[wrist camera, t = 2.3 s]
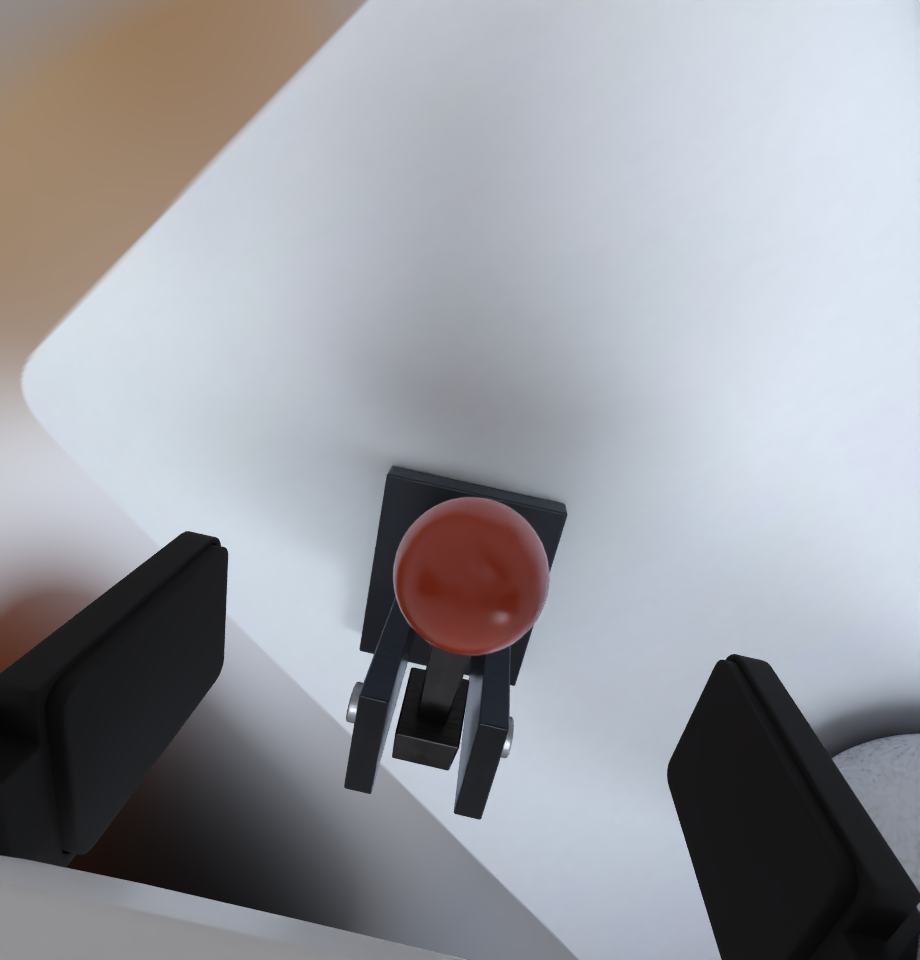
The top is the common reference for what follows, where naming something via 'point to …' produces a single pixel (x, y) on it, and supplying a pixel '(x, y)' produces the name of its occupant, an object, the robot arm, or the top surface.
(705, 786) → the robot arm
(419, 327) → the top surface
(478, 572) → the lever
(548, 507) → the lever base
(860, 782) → the planter
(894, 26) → the top surface
